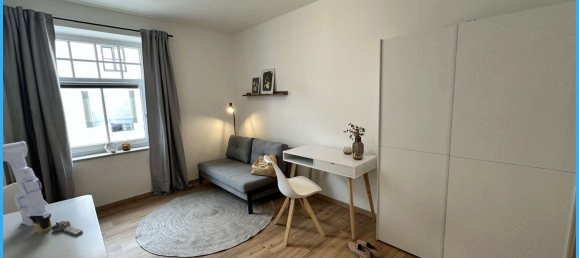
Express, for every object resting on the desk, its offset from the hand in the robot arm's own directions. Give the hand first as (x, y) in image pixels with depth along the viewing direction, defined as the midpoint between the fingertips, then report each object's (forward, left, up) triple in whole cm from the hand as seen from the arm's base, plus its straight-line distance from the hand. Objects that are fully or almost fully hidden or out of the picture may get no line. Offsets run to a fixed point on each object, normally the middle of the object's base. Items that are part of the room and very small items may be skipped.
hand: (42, 227), depth 132 cm
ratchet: (+14, +4, -1) cm, 15 cm away
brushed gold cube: (0, 0, -1) cm, 1 cm away
